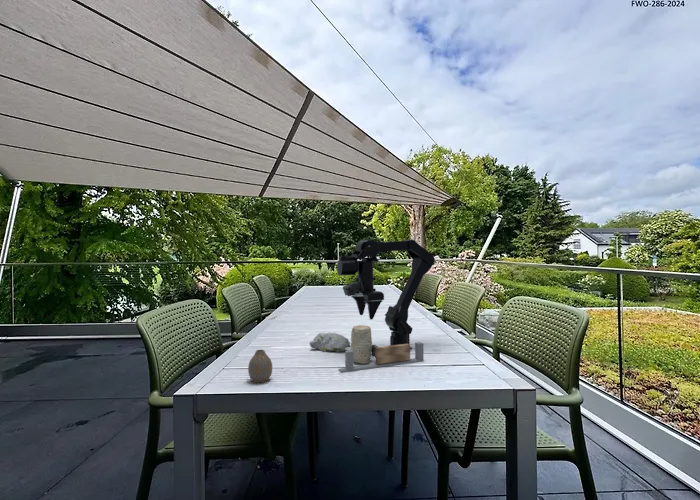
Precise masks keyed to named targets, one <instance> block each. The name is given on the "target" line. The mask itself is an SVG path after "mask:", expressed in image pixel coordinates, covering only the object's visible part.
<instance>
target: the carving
mask: <svg viewBox="0 0 700 500" xmlns="http://www.w3.org/2000/svg"><path fill="white" fill-rule="evenodd" d="M372 345H373V339H372V328H371V327H370V326H368V325H363V324H361V325H359V324H358V325H354V326H353V327H352V328H351V334H350V346H351V347H349V348H350V350H352V351H353V355H354V362H355V363H357V364H368V363H369V364H370V362H371V360H372Z"/></svg>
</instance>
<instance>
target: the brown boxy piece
mask: <svg viewBox="0 0 700 500" xmlns="http://www.w3.org/2000/svg"><path fill="white" fill-rule="evenodd" d="M410 347H411V344H400V345H392V346H390V345H383V346H378V345H376V344H372V352H371V354H372V355H371V357H374V358H375V362H374V364H376V363H377V364H383V363H390V362H397V361H405V360H410V359H411V349H410Z"/></svg>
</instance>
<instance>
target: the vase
mask: <svg viewBox="0 0 700 500" xmlns="http://www.w3.org/2000/svg"><path fill="white" fill-rule="evenodd" d="M247 370H248V371H247V372H248V376H249V378H250V380H251V381H252V382H254V383H256V384H257V383H261V384H262V383H265V382H267V381H268V380H269V379H270V378H271V376H272V374H273V362H272V359H271V358H270V356H269V355H268V354H267V353H266V351H265V350H264V349H256V350H255V351H254V355H253V356H252V357H251V358H250V360H249V363H248V367H247Z"/></svg>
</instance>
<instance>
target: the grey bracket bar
mask: <svg viewBox="0 0 700 500" xmlns="http://www.w3.org/2000/svg"><path fill="white" fill-rule="evenodd" d="M344 353H345V355H344V356H345V362H344V363H345V365H344V366H345V367H341V368H338V372H339V373H341V374H342V373H343V374H344V373H351V372H356V371H364V370H365V371H366V370H370V369H371V370H372V369H379V368H385V367H386V368H387V367H394V366H400V365H407V364H413V363H421V362H425V361H424V343H423V342H422V341H416V342H415V343H414V356H415V357H413V358H410V360H405V361H397V362H390V363H383V364H377V363H369V364H362V365H355V364H354V355H353V351H352V350H351V349H350V350H345V351H344ZM354 365H355V366H354Z"/></svg>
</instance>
